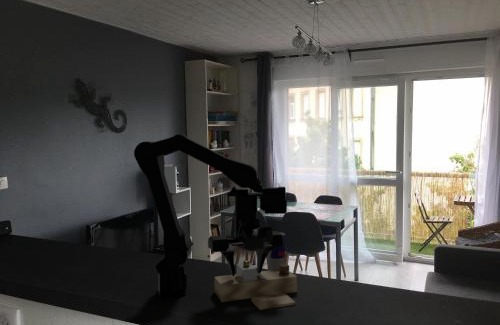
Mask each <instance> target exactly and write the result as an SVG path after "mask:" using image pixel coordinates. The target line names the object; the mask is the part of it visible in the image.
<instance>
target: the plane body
mask: <svg viewBox="0 0 500 325" xmlns="http://www.w3.org/2000/svg"><path fill="white" fill-rule="evenodd" d="M297 292H298V276H297V275H295V273H292V271H290V264H287V263H286V264H282V265H279V269H278V270H270V271H268V270H261V273H258V271H257V280H255V281H247V282H243V281H242V280H241V279H240V278H239V277H238V276H237V273H235V276H232V274H228V275H226V274H225V275H218V276H214V294H216V296H217V298H218V299H219V300H220V302H221V303H226V302H231V301H239V300H246V299H247V300H248V299H251V298H255V297H263V296H270V295H278V294H291V293H297Z"/></svg>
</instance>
